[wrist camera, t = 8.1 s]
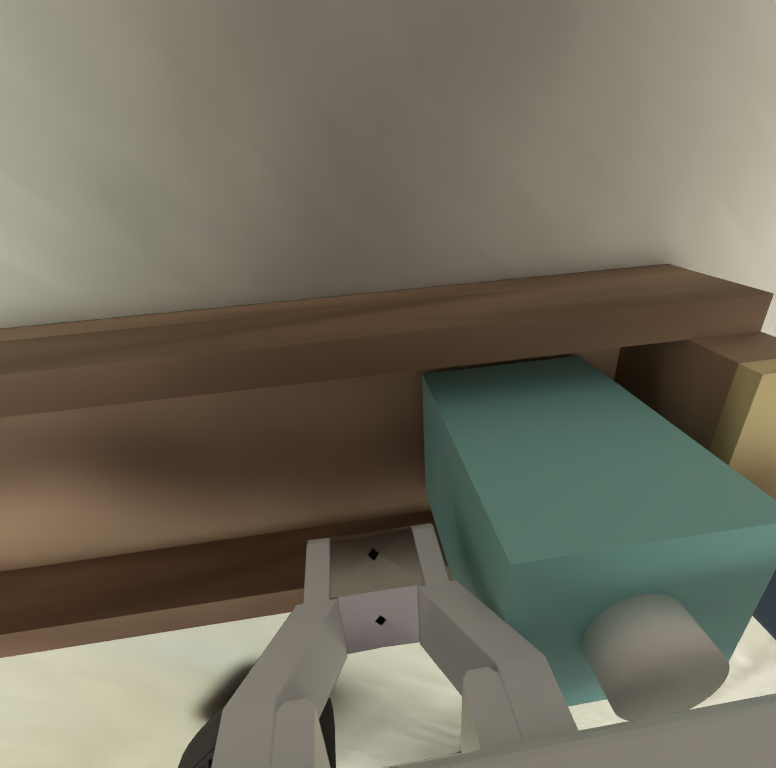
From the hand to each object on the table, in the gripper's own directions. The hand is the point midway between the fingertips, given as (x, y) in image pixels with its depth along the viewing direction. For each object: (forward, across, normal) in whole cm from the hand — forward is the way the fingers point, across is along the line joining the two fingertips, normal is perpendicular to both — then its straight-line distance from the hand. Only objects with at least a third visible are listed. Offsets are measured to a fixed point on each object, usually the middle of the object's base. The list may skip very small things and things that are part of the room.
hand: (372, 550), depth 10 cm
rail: (+6, +2, 0) cm, 6 cm away
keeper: (+4, -5, 0) cm, 6 cm away
